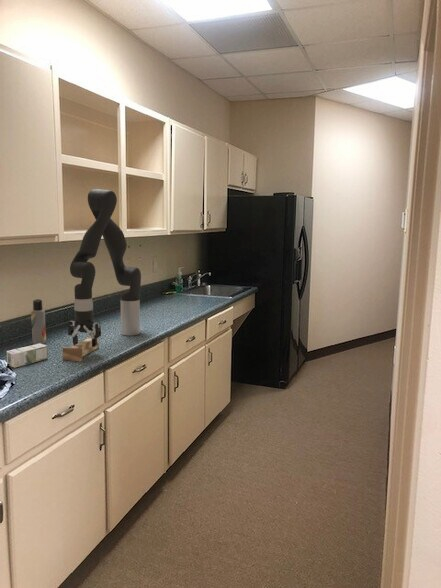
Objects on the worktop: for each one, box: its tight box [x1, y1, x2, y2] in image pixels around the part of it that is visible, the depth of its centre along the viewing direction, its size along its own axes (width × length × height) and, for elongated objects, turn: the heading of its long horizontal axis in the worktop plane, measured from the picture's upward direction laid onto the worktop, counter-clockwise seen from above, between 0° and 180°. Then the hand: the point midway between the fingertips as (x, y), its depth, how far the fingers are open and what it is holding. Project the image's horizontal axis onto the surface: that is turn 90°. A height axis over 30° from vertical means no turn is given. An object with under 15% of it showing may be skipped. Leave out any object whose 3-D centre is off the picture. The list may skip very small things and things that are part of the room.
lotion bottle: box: [30, 298, 47, 345], centre depth 206 cm, size 6×6×20 cm
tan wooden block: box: [61, 336, 99, 362], centre depth 194 cm, size 20×8×5 cm, turn 166°
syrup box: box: [6, 343, 49, 368], centre depth 181 cm, size 6×6×14 cm
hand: (84, 345), depth 194 cm, fingers open, 8 cm apart
